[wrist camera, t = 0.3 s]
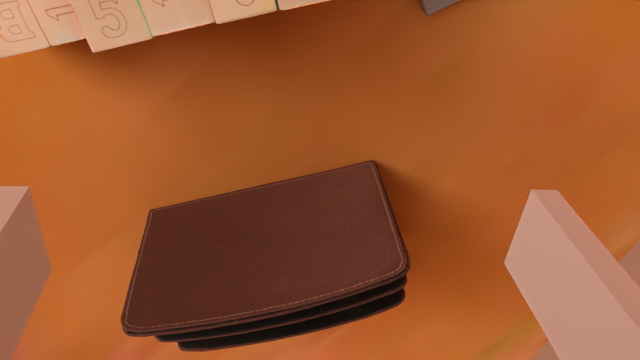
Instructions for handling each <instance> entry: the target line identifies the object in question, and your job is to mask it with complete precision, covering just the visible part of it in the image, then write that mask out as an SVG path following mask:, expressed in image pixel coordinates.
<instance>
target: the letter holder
mask: <svg viewBox="0 0 640 360" xmlns="http://www.w3.org/2000/svg"><path fill="white" fill-rule="evenodd" d="M409 269H410V258H409V255H408V252H407V249H406V246H405V244H404V241H403V239H402V236H401V234H400V231H399V228H398V225H397V222H396V220H395V217H394V213H393V210H392V208H391V205H390V202H389V199H388V196H387V194H386V191H385V188H384V185H383V182H382V180H381V177H380V174H379V172H378V167H377V165H376V164H375V163H374V161H368V162H363V163H360V164H356V165H352V166H347V167H343V168H339V169H335V170H330V171H326V172H321V173H317V174H313V175H307V176H303V177H298V178H293V179H289V180H284V181H280V182H275V183H270V184H266V185H261V186H256V187H252V188H247V189H243V190H238V191H234V192H230V193H225V194H221V195H216V196H212V197H207V198H203V199H198V200H194V201H189V202H185V203H180V204H176V205H172V206H167V207H162V208H158V209H153V210H150V211H149V214H148V217H147V223H146V227H145V230H144V234H143V237H142V241H141V245H140V249H139V251H138V256H137V260H136V264H135V267H134V270H133V274H132V277H131V281H130V285H129V288H128V292H127V296H126V300H125V304H124V307H123V312H122V316H121V324H122V328H123V331H124V333H125V334H126V335H129V336H133V337H146V336H154V337H155V338H156V339H157V340H158V341H160V342H177V344H178V347H179V349H180V350H182V351H197V352H202V351H211V350H219V349H226V348H233V347H239V346H246V345H252V344H258V343H264V342H269V341H274V340H279V339H284V338H289V337H293V336H298V335H303V334H307V333H311V332H316V331H320V330H324V329H328V328H332V327H336V326H340V325H343V324H347V323H350V322H354V321H357V320H361V319H364V318H367V317H370V316H373V315H375V314H378V313H381V312H384V311H387V310H389V309H391V308H393V307H396V306H398V305H399V304H401V303H402V302H403V301H404V299H405V291H404V288H403V287H404V286H405V285H406V282H407V276H406V273H407V272H408V271H409Z"/></svg>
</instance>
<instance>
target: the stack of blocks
mask: <svg viewBox="0 0 640 360" xmlns="http://www.w3.org/2000/svg"><path fill="white" fill-rule="evenodd" d="M326 1H331V0H0V58H5V57H9V56H13V55H18V54H22V53H26V52H30V51H34V50H39V49H43V48H47V47H50V46H58V45H62V44H66V43H71V42H75V41H78V40H82V39H86V40H87V42H88V45H89V47H90V49H91V51H92V52H93V53H96V52H100V51H104V50H108V49H112V48H116V47H121V46H125V45H129V44H133V43H137V42H142V41H146V40H150V39H152V38H153V37H155V36H160V35H165V34H169V33H174V32H178V31H182V30H186V29H190V28H195V27H199V26H203V25H207V24H211V23H216V24H222V23H227V22H231V21H236V20H240V19H244V18H248V17H253V16H257V15H262V14H267V13H271V12H274V11H277V10H278V9H279V10H289V9H293V8H298V7H303V6H307V5H312V4H317V3H322V2H326Z"/></svg>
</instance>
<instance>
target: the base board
mask: <svg viewBox="0 0 640 360" xmlns="http://www.w3.org/2000/svg"><path fill="white" fill-rule="evenodd" d="M457 1H459V0H419V2H420V5H421V8H422V10H423V11H424V12H425V13H426V14H427V15H428V16H429V15H431V14H433V13H435V12H437V11H439V10H441V9H443V8H445V7H447V6H449V5H451V4H453V3H455V2H457Z"/></svg>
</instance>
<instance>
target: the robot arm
mask: <svg viewBox="0 0 640 360" xmlns="http://www.w3.org/2000/svg"><path fill="white" fill-rule="evenodd" d="M504 264H505V266H506V268H507V269H508V271H509V273H510V274H511V276H512V278H513V280H514V281H515V283H516V285H517V287H518V288H519V290H520V292H521V293H522V295H523V297H524V299H525V300H526V302H527V304H528V306H529V307H530V309H531V311H532V312H533V314H534V316H535V318H536V319H537V321H538V323H539V325H540V326H541V328H542V330H543V331H544V333H545V335H546V337H547V338H548V340H549V342H550V343H551V345H552V347H553V349H554V350H555V352H556V354H557V355H558V357H559V359H560V360H640V288H639V287H638V285H637V284H636V283H635V282H634V281H633V279H632V278H631V277H630V276H629V275H628V274H627V272H626V271H625V270H624V269H623V268H622V267H621V265H620V264H619V263H618V262H617V261H616V259H615V258H614V257H613V256H612V255H611V253H610V252H609V251H608V250H607V249H606V247H605V246H604V245H603V244H602V243H601V242H600V240H599V239H598V238H597V237H596V236H595V234H594V233H593V232H592V231H591V230H590V229H589V227H588V226H587V225H586V224H585V223H584V221H583V220H582V219H581V218H580V217H579V215H578V214H577V213H576V212H575V211H574V210H573V208H572V207H571V206H570V205H569V204H568V202H567V201H566V200H565V199H564V198H563V197H562V195H561V194H560V193H559V192H558V191H557V190H531V192H530V194H529V197H528V200H527V203H526V205H525V208H524V211H523V213H522V216H521V219H520V221H519V224H518V227H517V229H516V232H515V235H514V237H513V240H512V243H511V245H510V248H509V251H508V253H507V256H506V259H505V262H504ZM51 270H52V269H51V265H50V261H49V258H48V254H47V250H46V247H45V243H44V239H43V236H42V232H41V228H40V225H39V221H38V217H37V214H36V210H35V206H34V203H33V199H32V196H31V192H30V188H29V186H0V360H11V358H12V356H13V354H14V351H15V349H16V347H17V345H18V343H19V340H20V338H21V336H22V334H23V332H24V329H25V327H26V325H27V323H28V321H29V318H30V316H31V314H32V312H33V310H34V307H35V305H36V303H37V301H38V299H39V296H40V294H41V292H42V290H43V288H44V285H45V283H46V281H47V279H48V277H49V274H50V272H51Z"/></svg>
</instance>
